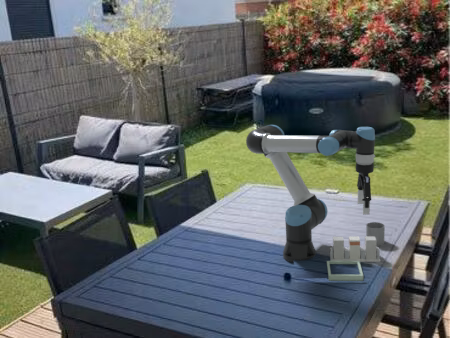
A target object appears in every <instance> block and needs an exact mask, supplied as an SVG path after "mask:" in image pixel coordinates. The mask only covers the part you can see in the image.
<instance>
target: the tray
mask: <svg viewBox="0 0 450 338" xmlns="http://www.w3.org/2000/svg"><path fill="white" fill-rule="evenodd" d="M331 265H357V269H358V272H359V274H351V273H350V274H347V273H346V274H344V273H343V274H339V273H338V274H337V273H336V274H333V273H332V271H331ZM326 267H327V276H328V282H364V273H363V269H362V265H361V262H360V261H331V260H326Z"/></svg>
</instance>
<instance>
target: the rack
mask: <svg viewBox="0 0 450 338" xmlns="http://www.w3.org/2000/svg"><path fill="white" fill-rule="evenodd" d="M380 253H381V252H380V248H379V246H376V259H366V257H365V246H360V259H350V258H349V246H344V259H334V257H333V247H332V246H330V247H329V259H330V260H329V261H360V263H361V262H370V263H372V262H373V263H374V262H376V263H377V262H381V259H380Z"/></svg>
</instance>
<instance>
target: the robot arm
mask: <svg viewBox="0 0 450 338" xmlns="http://www.w3.org/2000/svg"><path fill="white" fill-rule="evenodd" d="M375 132H376V131H375V129H374V128H373V127H370V126H359V127H357V128H356V130H355V131H353V130H342V129H333V130H331V131H330V133H329V135H296V134H295V135H292V134H291V135H289V134H288V135H287V134H286V135H285V131H284V130H283V129H282V128H281V127H279V126H278V125H276V124H267V125H264V126H262V127H258V128H255V129H253V130H251V131H250V132H249V133H248V135H247V136H246V139H245V145H246V146H247V149H248V150H249V151H250V152H251V153H253V154H258V155H263V156H264V157H265V158H267V159H269V160H270V162H271V163H272V165H273V167H274V168H275V170H276V171H277V175H279V178H280V179H281V181H282V182H283V184H284V185H285V188H286V189H287V191H288V193H289V194H290V196H291V198H292V199H293V202H294V203H293V205H292V206H290V207H289V208H287V209H286V211H285V216H284V219H285V220H284V221H285V238H286V239H285V240H286V241H285V244H284V247H283V251H282V254H283V255H282V257H283V259H284V260H285V261H287V262H290V263H294V262H295V261H299V262H300V261H308V260H311V259H314V258H315V257H316V256H317V251H316V248H315V246H314V243H313V241H312V240H313V239H312V235H313V234H312V230H314V228H316V227H317V226H319V225H321V224H322V223H323V222H324V221H325V220H326V218H327V216H328V207H327V204H326V203H325V202H324V200H322V199H320V198H318V197H317V195H316V194H315V193H311V192H310V190H309V189H308V187H307V185H306V183H305V182H304V180H303V178H302V176H301V175H300V173H299V172H298V170H297V168H296V166H295V164H294V163H293V161H292V159H291V158H290V156H289V154H288V153H297V154H298V153H300V154H303V153H304V154H322V155H323V156H325V157H328V156H333V155H334V154H336V153H338V152H339V151H341V150H343V149H353V150H355V162H356V163H355V171H356V173H358V176H357V177H358V178H357V183H356V187H357V205H362V215H365V216H366V215H369V216H370V210H371V209H370V208H371V207H370V206H371V201H372V191H371V190H372V188H371V177H370V175H369V174H372V173H373V172H374V170H375V169H374V167H375V164H374V161H375V159H374V158H376V155H375V143H376V135H375Z"/></svg>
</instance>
